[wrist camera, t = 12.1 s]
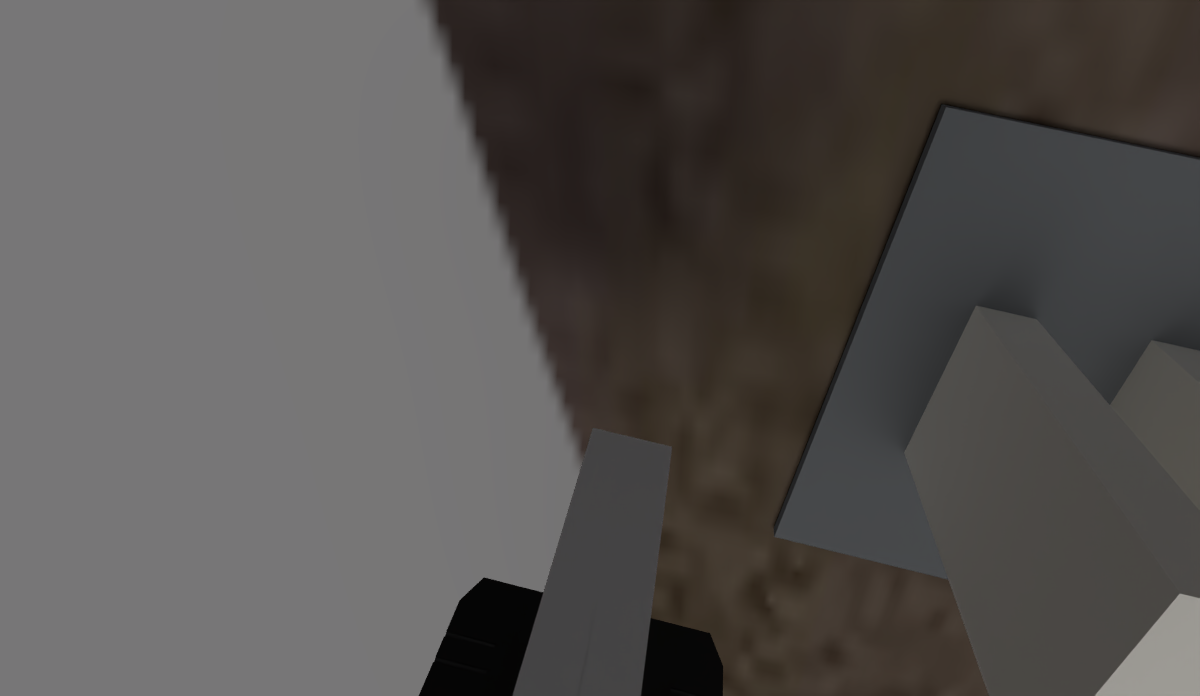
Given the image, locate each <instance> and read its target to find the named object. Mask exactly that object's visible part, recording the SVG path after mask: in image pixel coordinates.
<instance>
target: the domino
mask: <svg viewBox="0 0 1200 696" xmlns="http://www.w3.org/2000/svg"><path fill="white" fill-rule="evenodd" d="M1110 406H1111V407H1112V408H1113V410H1114V411H1115V412H1116V413H1117V414H1118V415H1119V417H1120V418H1121V419H1122V420H1123V421H1124V423H1125V424H1126V425H1127V426H1128V427H1129V428H1130V430H1131V431H1132V432H1133V433H1134V434H1135V435H1136V437H1137V438H1138V439H1139V440H1140V441H1141V443H1142V444H1143V445H1144V446H1145V447H1146V448H1147V450H1148V451H1149V452H1150V453H1151V454H1152V455H1153V457H1154V458H1155V459H1156V460H1157V461H1158V463H1159V464H1160V465H1161V466H1162V467H1163V468H1164V470H1165V471H1166V472H1167V473H1168V474H1169V475H1170V477H1171V478H1172V479H1173V480H1174V481H1175V483H1176V484H1177V485H1178V486H1179V487H1180V488H1181V490H1182V491H1183V492H1184V493H1185V494H1186V495H1187V497H1188V498H1189V499H1190V500H1191V501H1192V503H1193V504H1194V505H1195V506H1196V507H1197V508H1198V510H1199V511H1200V351H1199V350H1194V349H1190V348H1185V347H1181V346H1176V345H1172V344H1167V343H1163V342H1158V341H1154V340H1151V342H1150V343H1149V345H1148V346H1147V348H1146V350H1145V351H1144V353H1143V354H1142V356H1141V357H1140V359H1139V361H1138V362H1137V364H1136V365H1135V367H1134V368H1133V370H1132V372H1131V373H1130V375H1129V376H1128V378H1127V379H1126V381H1125V382H1124V384H1123V386H1122V387H1121V389H1120V390H1119V392H1118V393H1117V395H1116V397H1115V398H1114V400H1113V401H1112V403H1111V404H1110Z"/></svg>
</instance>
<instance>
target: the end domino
mask: <svg viewBox="0 0 1200 696" xmlns="http://www.w3.org/2000/svg"><path fill="white" fill-rule="evenodd" d="M904 453H905V456H906V459H907V462H908V465H909V468H910V471H911V473H912V476H913V479H914V482H915V485H916V488H917V491H918V493H919V496H920V499H921V502H922V505H923V508H924V511H925V514H926V516H927V519H928V522H929V525H930V528H931V531H932V534H933V537H934V539H935V542H936V545H937V548H938V551H939V554H940V557H941V559H942V562H943V565H944V568H945V571H946V574H947V577H948V580H949V582H950V585H951V588H952V591H953V594H954V597H955V600H956V602H957V605H958V608H959V611H960V614H961V617H962V620H963V623H964V625H965V628H966V631H967V634H968V637H969V640H970V643H971V645H972V648H973V651H974V654H975V657H976V660H977V663H978V666H979V668H980V671H981V674H982V677H983V680H984V683H985V686H986V688H987V691H988V694H989V696H1200V511H1199V510H1198V508H1197V507H1196V506H1195V505H1194V504H1193V503H1192V501H1191V500H1190V499H1189V498H1188V497H1187V495H1186V494H1185V493H1184V492H1183V491H1182V490H1181V488H1180V487H1179V486H1178V485H1177V484H1176V483H1175V481H1174V480H1173V479H1172V478H1171V477H1170V475H1169V474H1168V473H1167V472H1166V471H1165V470H1164V468H1163V467H1162V466H1161V465H1160V464H1159V463H1158V461H1157V460H1156V459H1155V458H1154V457H1153V455H1152V454H1151V453H1150V452H1149V451H1148V450H1147V448H1146V447H1145V446H1144V445H1143V444H1142V443H1141V441H1140V440H1139V439H1138V438H1137V437H1136V435H1135V434H1134V433H1133V432H1132V431H1131V430H1130V428H1129V427H1128V426H1127V425H1126V424H1125V423H1124V421H1123V420H1122V419H1121V418H1120V417H1119V415H1118V414H1117V413H1116V412H1115V411H1114V410H1113V408H1112V407H1111V406H1110V405H1109V404H1108V403H1107V401H1106V400H1105V399H1104V398H1103V397H1102V395H1101V394H1100V393H1099V392H1098V391H1097V390H1096V388H1095V387H1094V386H1093V385H1092V384H1091V383H1090V381H1089V380H1088V379H1087V378H1086V377H1085V375H1084V374H1083V373H1082V372H1081V371H1080V370H1079V368H1078V367H1077V366H1076V365H1075V364H1074V363H1073V361H1072V360H1071V359H1070V358H1069V357H1068V355H1067V354H1066V353H1065V352H1064V351H1063V350H1062V348H1061V347H1060V346H1059V345H1058V344H1057V343H1056V341H1055V340H1054V339H1053V338H1052V337H1051V335H1050V334H1049V333H1048V332H1047V331H1046V330H1045V328H1044V327H1043V326H1042V325H1041V324H1040V323H1039V321H1038V320H1037V319H1034V318H1029V317H1025V316H1020V315H1016V314H1012V313H1007V312H1003V311H998V310H994V309H989V308H985V307H981V306H976V307H975V309H974V311H973V313H972V315H971V317H970V319H969V321H968V323H967V325H966V327H965V329H964V331H963V333H962V335H961V337H960V339H959V341H958V344H957V346H956V348H955V350H954V352H953V354H952V356H951V358H950V360H949V362H948V364H947V366H946V368H945V370H944V372H943V374H942V376H941V378H940V380H939V382H938V384H937V386H936V389H935V391H934V393H933V395H932V397H931V399H930V401H929V403H928V405H927V407H926V409H925V411H924V413H923V415H922V417H921V419H920V421H919V423H918V425H917V427H916V429H915V432H914V434H913V436H912V438H911V440H910V442H909V444H908V446H907V448H906V450H905V452H904Z"/></svg>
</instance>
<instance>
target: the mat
mask: <svg viewBox="0 0 1200 696" xmlns="http://www.w3.org/2000/svg"><path fill="white" fill-rule="evenodd" d="M976 306H981V307H985V308H989V309H994V310H998V311H1003V312H1007V313H1012V314H1016V315H1020V316H1025V317H1029V318H1034V319H1037V320H1038V321H1039V323H1040V324H1041V325H1042V326H1043V327H1044V328H1045V330H1046V331H1047V332H1048V333H1049V334H1050V335H1051V337H1052V338H1053V339H1054V340H1055V341H1056V343H1057V344H1058V345H1059V346H1060V347H1061V348H1062V350H1063V351H1064V352H1065V353H1066V354H1067V355H1068V357H1069V358H1070V359H1071V360H1072V361H1073V363H1074V364H1075V365H1076V366H1077V367H1078V368H1079V370H1080V371H1081V372H1082V373H1083V374H1084V375H1085V377H1086V378H1087V379H1088V380H1089V381H1090V383H1091V384H1092V385H1093V386H1094V387H1095V388H1096V390H1097V391H1098V392H1099V393H1100V394H1101V395H1102V397H1103V398H1104V399H1105V400H1106V401H1107V403H1108V404H1109V405H1110V404H1111V403H1112V401H1113V400H1114V398H1115V397H1116V395H1117V393H1118V392H1119V390H1120V389H1121V387H1122V386H1123V384H1124V382H1125V381H1126V379H1127V378H1128V376H1129V375H1130V373H1131V372H1132V370H1133V368H1134V367H1135V365H1136V364H1137V362H1138V361H1139V359H1140V357H1141V356H1142V354H1143V353H1144V351H1145V350H1146V348H1147V346H1148V345H1149V343H1150V342H1151V340H1154V341H1158V342H1163V343H1167V344H1172V345H1176V346H1181V347H1185V348H1190V349H1194V350H1199V351H1200V158H1199V157H1194V156H1189V155H1184V154H1179V153H1175V152H1170V151H1165V150H1160V149H1155V148H1150V147H1146V146H1141V145H1136V144H1131V143H1126V142H1122V141H1117V140H1112V139H1107V138H1102V137H1098V136H1093V135H1088V134H1083V133H1078V132H1073V131H1069V130H1064V129H1059V128H1054V127H1049V126H1045V125H1040V124H1035V123H1030V122H1025V121H1020V120H1016V119H1011V118H1006V117H1001V116H996V115H992V114H987V113H982V112H977V111H972V110H968V109H963V108H958V107H953V106H948V105H943V104H942V105H941V108H940V110H939V113H938V115H937V118H936V120H935V123H934V125H933V128H932V130H931V133H930V135H929V138H928V140H927V143H926V145H925V148H924V151H923V153H922V156H921V158H920V161H919V163H918V166H917V168H916V171H915V173H914V176H913V178H912V181H911V183H910V186H909V188H908V191H907V193H906V196H905V198H904V201H903V204H902V206H901V209H900V211H899V214H898V216H897V219H896V221H895V224H894V226H893V229H892V231H891V234H890V236H889V239H888V241H887V244H886V246H885V249H884V251H883V254H882V256H881V259H880V262H879V264H878V267H877V269H876V272H875V274H874V277H873V279H872V282H871V284H870V287H869V289H868V292H867V294H866V297H865V299H864V302H863V304H862V307H861V309H860V312H859V315H858V317H857V320H856V322H855V325H854V327H853V330H852V332H851V335H850V337H849V340H848V342H847V345H846V347H845V350H844V352H843V355H842V357H841V360H840V362H839V365H838V368H837V370H836V373H835V375H834V378H833V380H832V383H831V385H830V388H829V390H828V393H827V395H826V398H825V400H824V403H823V405H822V408H821V410H820V413H819V415H818V418H817V420H816V423H815V426H814V428H813V431H812V433H811V436H810V438H809V441H808V443H807V446H806V448H805V451H804V453H803V456H802V458H801V461H800V463H799V466H798V468H797V471H796V473H795V476H794V479H793V481H792V484H791V486H790V489H789V491H788V494H787V496H786V499H785V501H784V504H783V506H782V509H781V511H780V514H779V516H778V519H777V521H776V524H775V526H774V537H778V538H782V539H786V540H790V541H794V542H798V543H802V544H806V545H810V546H814V547H818V548H822V549H826V550H830V551H834V552H839V553H843V554H847V555H851V556H855V557H859V558H863V559H867V560H871V561H875V562H879V563H883V564H887V565H891V566H895V567H899V568H904V569H908V570H912V571H916V572H920V573H924V574H928V575H932V576H936V577H940V578H944V579H948V577H947V574H946V571H945V568H944V565H943V562H942V559H941V557H940V554H939V551H938V548H937V545H936V542H935V539H934V537H933V534H932V531H931V528H930V525H929V522H928V519H927V516H926V514H925V511H924V508H923V505H922V502H921V499H920V496H919V493H918V491H917V488H916V485H915V482H914V479H913V476H912V473H911V471H910V468H909V465H908V462H907V459H906V456H905V453H904V452H905V450H906V448H907V446H908V444H909V442H910V440H911V438H912V436H913V434H914V432H915V429H916V427H917V425H918V423H919V421H920V419H921V417H922V415H923V413H924V411H925V409H926V407H927V405H928V403H929V401H930V399H931V397H932V395H933V393H934V391H935V389H936V386H937V384H938V382H939V380H940V378H941V376H942V374H943V372H944V370H945V368H946V366H947V364H948V362H949V360H950V358H951V356H952V354H953V352H954V350H955V348H956V346H957V344H958V341H959V339H960V337H961V335H962V333H963V331H964V329H965V327H966V325H967V323H968V321H969V319H970V317H971V315H972V313H973V311H974V309H975V307H976Z"/></svg>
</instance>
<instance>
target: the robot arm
mask: <svg viewBox="0 0 1200 696" xmlns="http://www.w3.org/2000/svg"><path fill="white" fill-rule="evenodd" d="M671 451H672V447H670V446H666V445H662V444H658V443H654V442H649V441H645V440H641V439H637V438H633V437H629V436H625V435H620V434H616V433H612V432H608V431H604V430H600V429H596V428H593V430H592V433H591V436H590V440H589V443H588V446H587V450H586V453H585V456H584V460H583V463H582V466H581V469H580V473H579V476H578V479H577V483H576V486H575V490H574V493H573V496H572V500H571V503H570V506H569V509H568V513H567V516H566V519H565V523H564V526H563V529H562V533H561V536H560V539H559V543H558V546H557V549H556V553H555V556H554V559H553V563H552V566H551V569H550V573H549V576H548V579H547V583H546V586H545V589H544V592H539V591H535V590H531V589H527V588H523V587H519V586H515V585H511V584H507V583H503V582H500V581H496V580H491V579H488V578H483V579H482V580H481V581H480V582H479V583H478V584H477V585H475V586H474V587H473V588H472V589H471V590H470V591H469V592H468V593H467V594H466V595H465V596H464V597H463V598H462V599H461V600H460V601H459V603H458V606H457V608H456V610H455V613H454V615H453V617H452V620H451V622H450V625H449V627H448V629H447V632H446V635H445V637H444V638H443V641H442V643H441V645H440V648H439V650H438V652H437V655H436V658H435V661H434V662H433V664H432V666H431V669H430V671H429V673H428V676H427V678H426V680H425V683H424V685H423V687H422V690H421V692H420V694H419V696H723V665H722V662H721V660H720V657H719V655H718V652H717V650H716V647H715V645H714V642H713V640H712V637H711V635H710V633H707V632H703V631H699V630H695V629H691V628H687V627H683V626H679V625H675V624H672V623H668V622H664V621H660V620H656V619H652V618H651V610H652V602H653V594H654V586H655V578H656V570H657V562H658V555H659V547H660V539H661V531H662V523H663V515H664V507H665V499H666V491H667V483H668V475H669V467H670V459H671Z"/></svg>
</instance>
